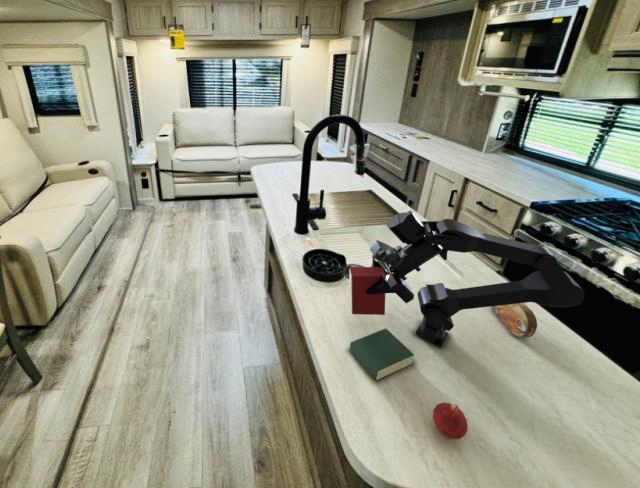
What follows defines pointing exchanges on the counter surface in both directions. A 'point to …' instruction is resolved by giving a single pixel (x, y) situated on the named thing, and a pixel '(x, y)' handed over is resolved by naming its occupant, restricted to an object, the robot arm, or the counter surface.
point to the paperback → (359, 284)
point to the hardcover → (381, 353)
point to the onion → (450, 420)
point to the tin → (517, 319)
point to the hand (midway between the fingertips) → (364, 287)
